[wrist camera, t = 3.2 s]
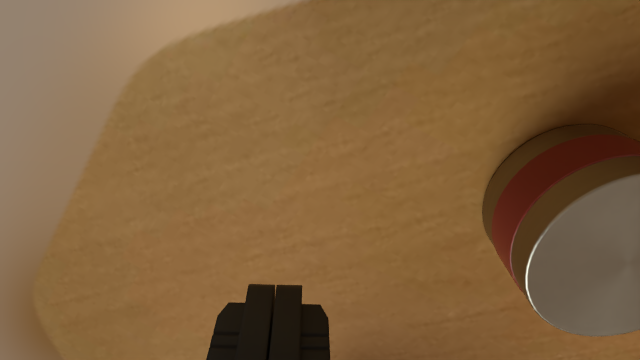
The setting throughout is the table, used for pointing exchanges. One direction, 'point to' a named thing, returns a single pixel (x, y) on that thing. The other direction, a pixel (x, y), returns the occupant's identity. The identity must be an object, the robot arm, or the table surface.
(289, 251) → the table surface
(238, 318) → the robot arm
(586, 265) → the tin can
